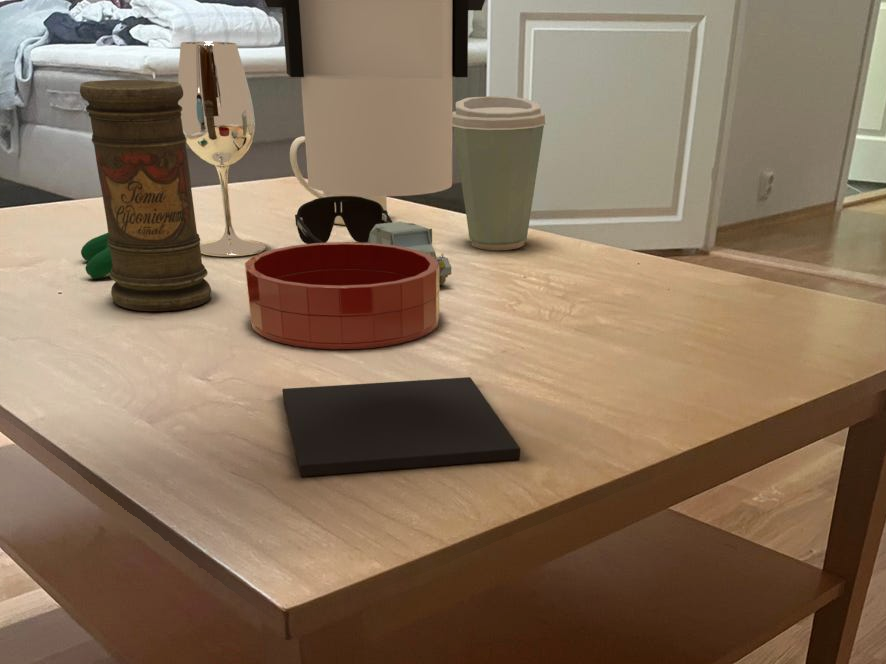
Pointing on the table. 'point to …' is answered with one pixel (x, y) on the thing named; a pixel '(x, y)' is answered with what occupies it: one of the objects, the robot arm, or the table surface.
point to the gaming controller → (97, 256)
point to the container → (146, 194)
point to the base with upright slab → (377, 95)
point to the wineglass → (217, 123)
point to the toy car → (410, 241)
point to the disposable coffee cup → (498, 166)
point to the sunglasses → (356, 215)
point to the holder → (394, 426)
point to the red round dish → (343, 295)
